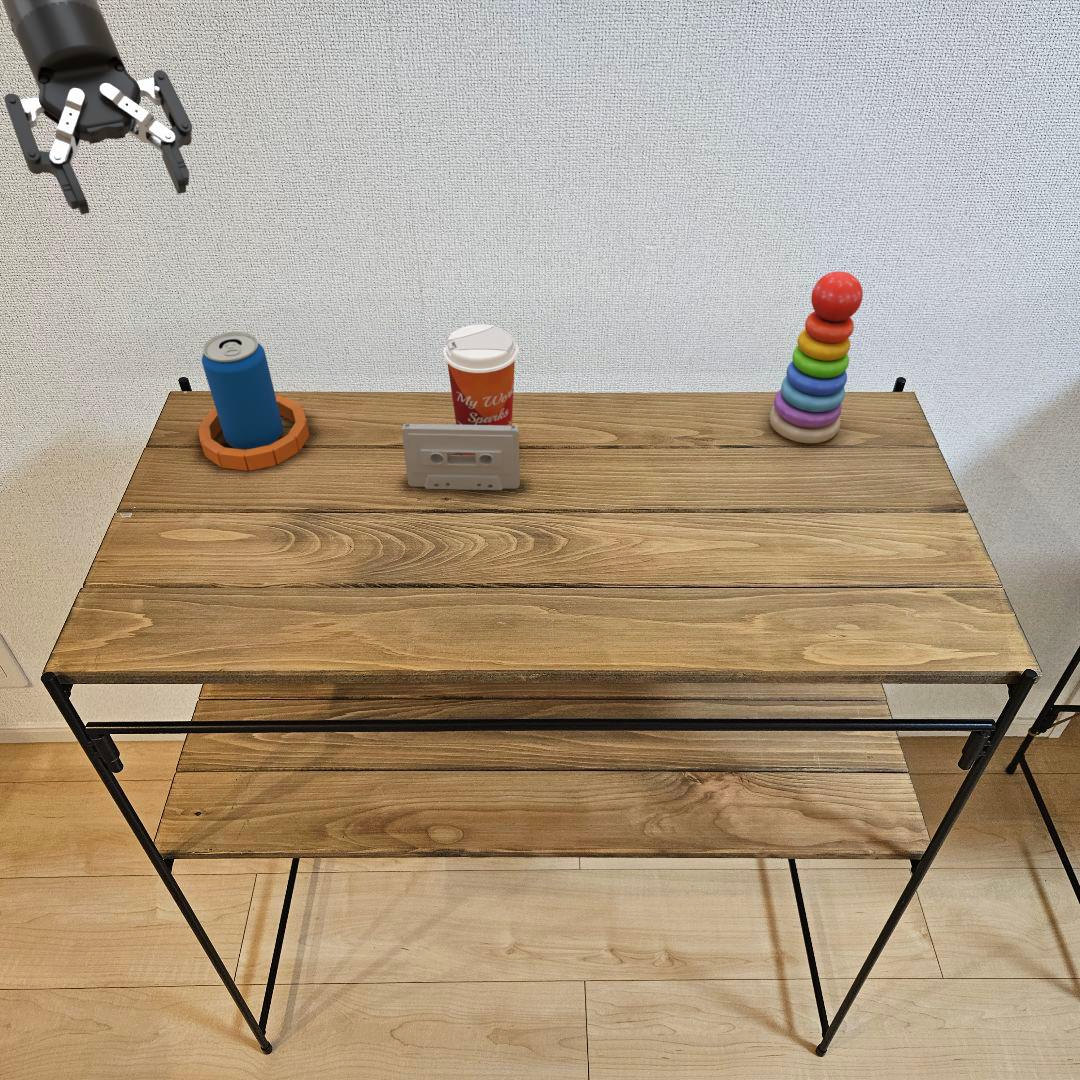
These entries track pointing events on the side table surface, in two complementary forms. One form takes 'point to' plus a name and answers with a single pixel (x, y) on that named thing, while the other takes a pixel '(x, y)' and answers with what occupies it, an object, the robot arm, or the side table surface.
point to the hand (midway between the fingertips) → (134, 199)
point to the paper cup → (481, 374)
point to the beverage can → (242, 390)
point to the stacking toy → (819, 364)
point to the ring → (259, 455)
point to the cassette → (462, 456)
